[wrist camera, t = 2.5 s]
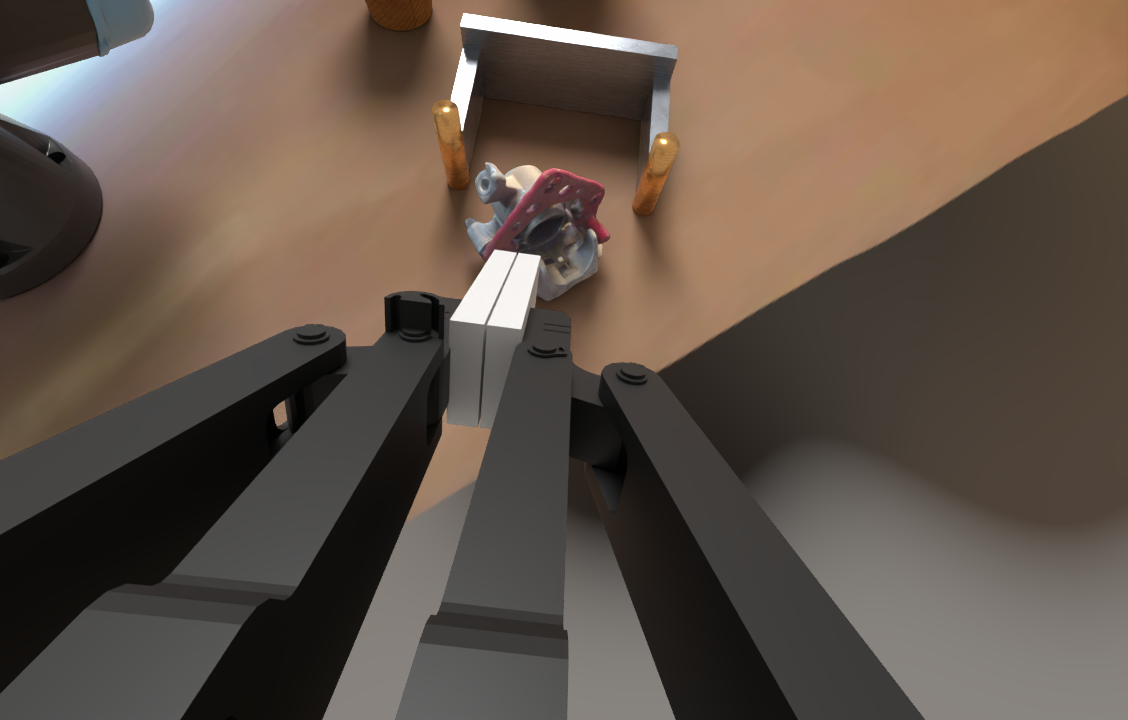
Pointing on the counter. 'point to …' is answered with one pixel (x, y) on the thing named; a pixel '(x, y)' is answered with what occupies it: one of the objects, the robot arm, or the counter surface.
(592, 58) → the bracket
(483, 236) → the brake caliper
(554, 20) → the counter surface
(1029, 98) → the counter surface
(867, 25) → the counter surface
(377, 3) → the disposable coffee cup
